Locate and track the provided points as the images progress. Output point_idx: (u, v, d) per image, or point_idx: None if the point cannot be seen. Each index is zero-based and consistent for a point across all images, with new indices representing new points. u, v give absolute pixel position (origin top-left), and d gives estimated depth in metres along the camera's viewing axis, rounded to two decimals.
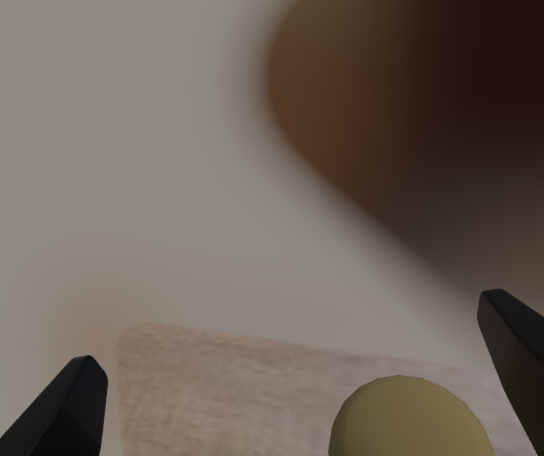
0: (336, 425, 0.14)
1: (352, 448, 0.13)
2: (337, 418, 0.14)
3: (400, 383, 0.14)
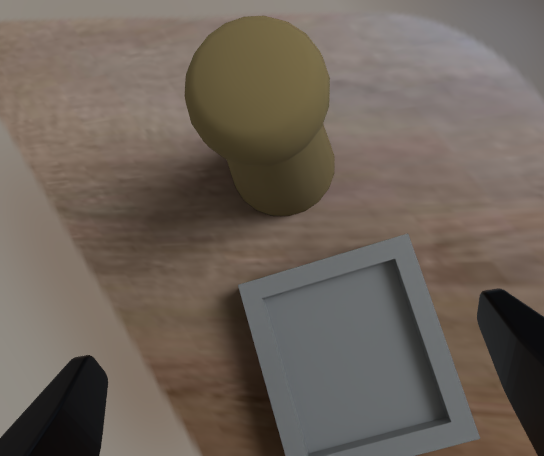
0: (187, 77, 0.14)
1: (200, 93, 0.14)
2: (187, 71, 0.14)
3: (243, 24, 0.14)
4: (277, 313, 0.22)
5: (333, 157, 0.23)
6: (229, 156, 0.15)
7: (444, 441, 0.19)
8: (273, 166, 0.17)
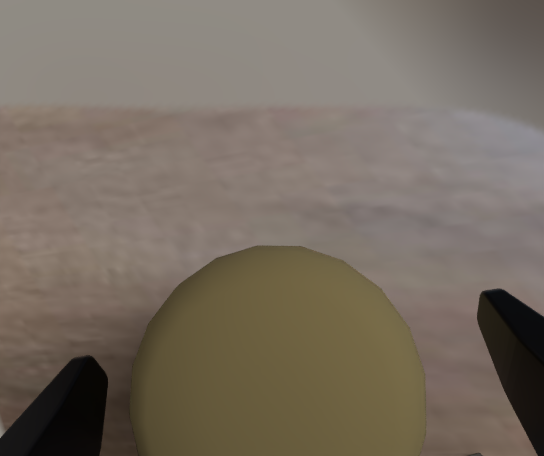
0: (132, 384, 0.07)
1: (157, 449, 0.06)
2: (134, 368, 0.07)
3: (249, 293, 0.06)
4: None
5: None
6: None
7: None
8: None
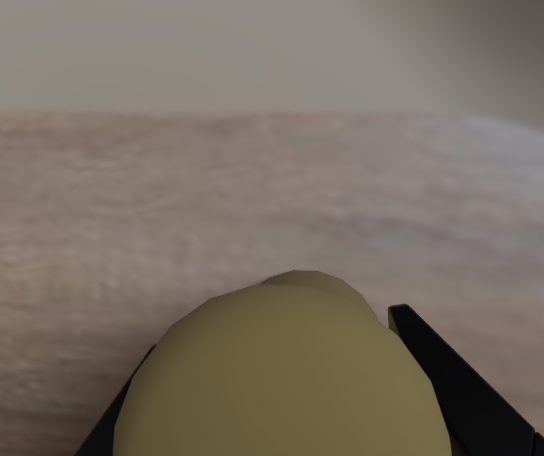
0: (114, 450, 0.06)
1: None
2: (116, 430, 0.06)
3: (249, 350, 0.06)
4: None
5: None
6: None
7: None
8: None
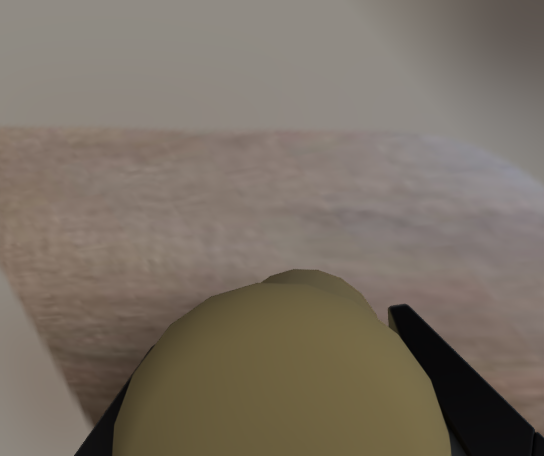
0: (114, 449, 0.06)
1: None
2: (116, 429, 0.06)
3: (248, 350, 0.06)
4: None
5: None
6: None
7: None
8: None
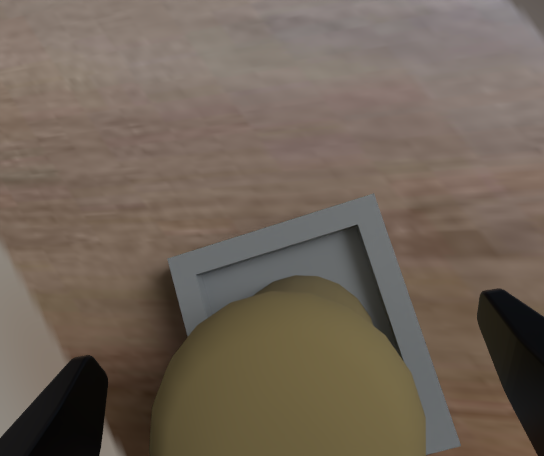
0: (153, 426, 0.07)
1: None
2: (155, 410, 0.07)
3: (264, 345, 0.07)
4: (217, 294, 0.18)
5: None
6: None
7: None
8: None
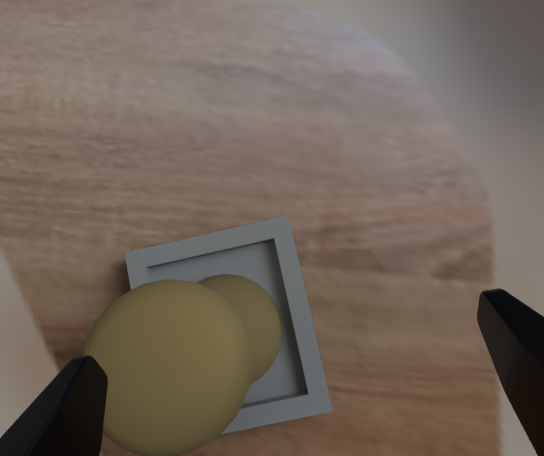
0: (83, 354, 0.12)
1: None
2: (85, 344, 0.12)
3: (151, 308, 0.12)
4: None
5: (280, 333, 0.21)
6: None
7: (300, 412, 0.21)
8: None
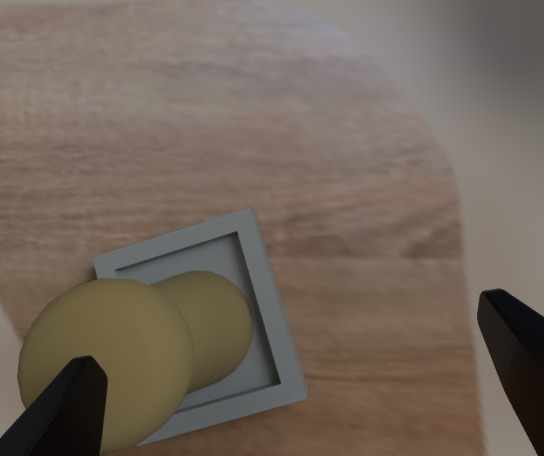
0: None
1: (27, 391, 0.12)
2: None
3: (78, 308, 0.12)
4: None
5: (250, 325, 0.21)
6: None
7: (274, 402, 0.21)
8: None
